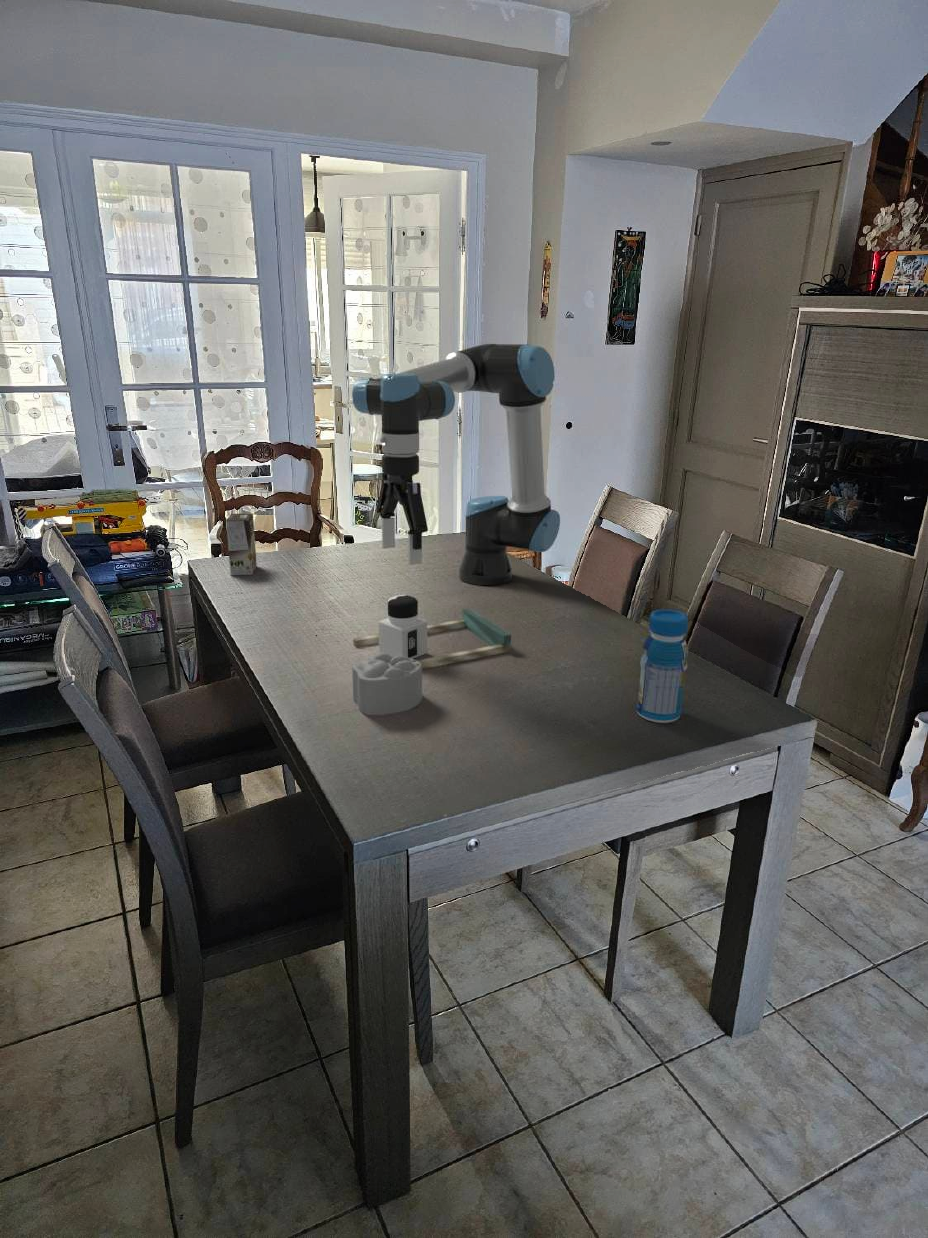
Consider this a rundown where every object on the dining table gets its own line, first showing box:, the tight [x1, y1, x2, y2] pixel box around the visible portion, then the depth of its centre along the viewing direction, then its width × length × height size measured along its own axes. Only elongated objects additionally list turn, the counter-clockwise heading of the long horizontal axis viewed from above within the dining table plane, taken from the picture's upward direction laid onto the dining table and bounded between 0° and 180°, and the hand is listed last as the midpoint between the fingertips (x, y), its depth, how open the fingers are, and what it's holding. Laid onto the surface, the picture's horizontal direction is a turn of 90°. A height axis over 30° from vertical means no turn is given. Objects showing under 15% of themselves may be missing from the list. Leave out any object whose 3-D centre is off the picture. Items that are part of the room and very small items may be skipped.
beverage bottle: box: [635, 608, 689, 724], centre depth 147 cm, size 8×8×20 cm
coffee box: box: [225, 512, 258, 576], centre depth 228 cm, size 9×6×16 cm
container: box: [378, 594, 428, 659], centre depth 174 cm, size 8×8×13 cm
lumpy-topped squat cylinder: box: [351, 652, 423, 716], centre depth 153 cm, size 10×13×9 cm
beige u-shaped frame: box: [352, 608, 512, 670], centre depth 179 cm, size 30×19×4 cm, turn 119°
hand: (401, 555), depth 168 cm, fingers open, 13 cm apart
